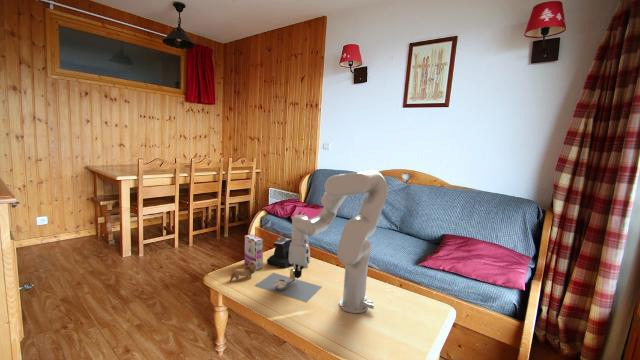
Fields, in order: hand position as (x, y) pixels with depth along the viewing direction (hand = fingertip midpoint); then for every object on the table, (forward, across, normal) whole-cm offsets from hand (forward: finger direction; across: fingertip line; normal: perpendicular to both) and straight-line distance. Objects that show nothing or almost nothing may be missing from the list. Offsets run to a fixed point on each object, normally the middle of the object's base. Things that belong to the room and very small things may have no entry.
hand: (297, 276), depth 153 cm
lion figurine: (+4, +24, +13) cm, 27 cm away
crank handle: (+3, +3, +7) cm, 8 cm away
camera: (+4, +20, -17) cm, 27 cm away
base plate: (+4, +1, +6) cm, 7 cm away
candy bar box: (+4, +31, -2) cm, 32 cm away
